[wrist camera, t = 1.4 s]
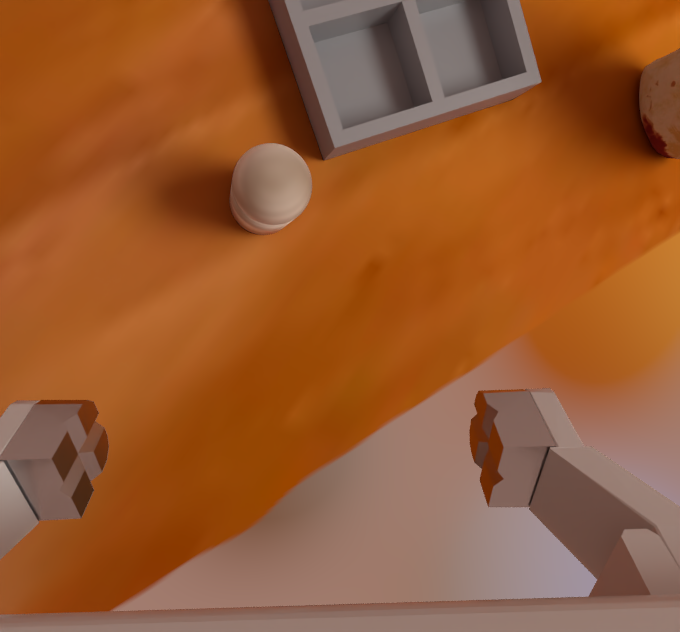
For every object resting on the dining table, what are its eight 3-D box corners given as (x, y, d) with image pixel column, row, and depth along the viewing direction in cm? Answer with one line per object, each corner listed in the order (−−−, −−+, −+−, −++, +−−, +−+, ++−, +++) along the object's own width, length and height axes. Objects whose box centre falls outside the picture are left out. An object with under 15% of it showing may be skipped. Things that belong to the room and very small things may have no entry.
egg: (219, 181, 37) (219, 147, 27) (281, 161, 38) (301, 122, 28) (243, 243, 37) (251, 232, 28) (303, 223, 38) (330, 205, 29)
